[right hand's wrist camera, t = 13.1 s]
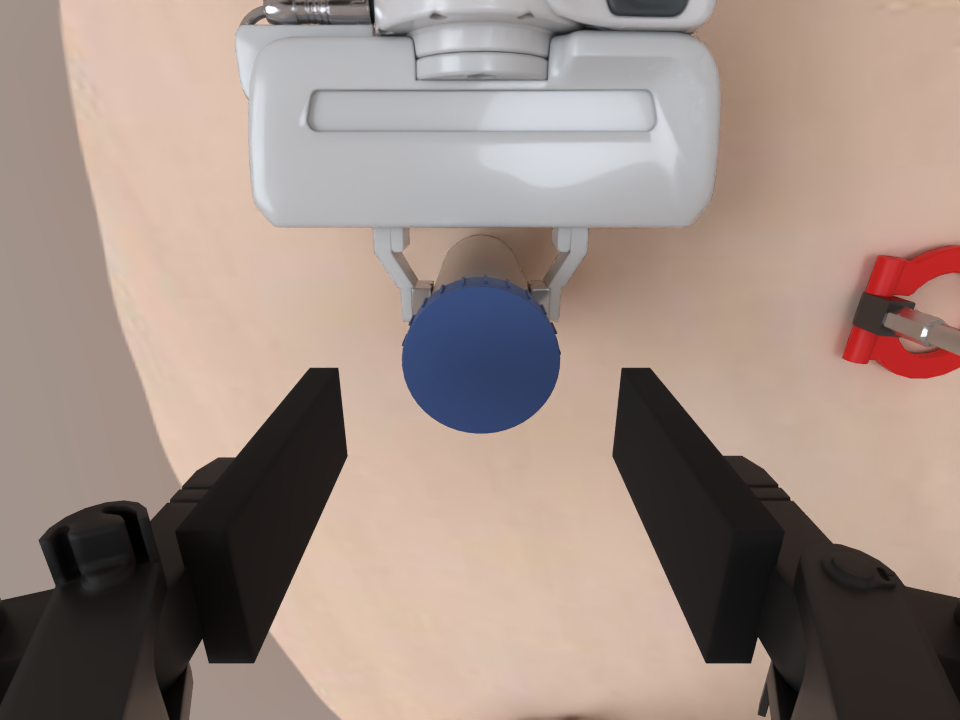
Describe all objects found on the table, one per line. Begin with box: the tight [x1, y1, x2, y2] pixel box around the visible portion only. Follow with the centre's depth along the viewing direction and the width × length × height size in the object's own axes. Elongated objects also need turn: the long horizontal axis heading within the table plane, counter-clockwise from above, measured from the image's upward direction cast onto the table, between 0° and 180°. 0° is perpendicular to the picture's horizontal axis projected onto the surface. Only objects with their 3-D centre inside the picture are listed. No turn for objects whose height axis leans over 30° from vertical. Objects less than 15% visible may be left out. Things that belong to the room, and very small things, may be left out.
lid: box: [402, 275, 561, 433], centre depth 19 cm, size 6×6×2 cm
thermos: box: [431, 235, 530, 295], centre depth 25 cm, size 5×5×15 cm
